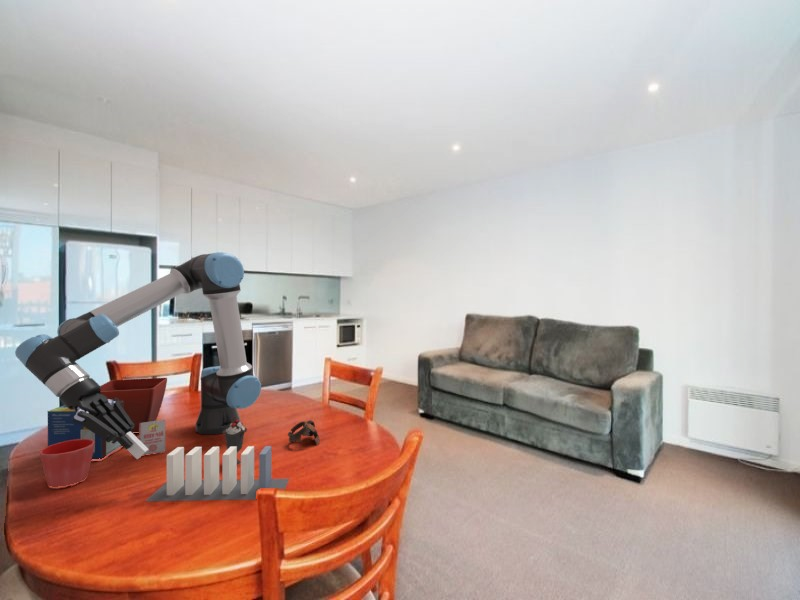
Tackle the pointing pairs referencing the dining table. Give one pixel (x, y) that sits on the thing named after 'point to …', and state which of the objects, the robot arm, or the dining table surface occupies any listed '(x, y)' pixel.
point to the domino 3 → (211, 470)
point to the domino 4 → (229, 470)
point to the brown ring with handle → (304, 431)
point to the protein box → (75, 431)
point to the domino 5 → (247, 469)
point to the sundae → (235, 435)
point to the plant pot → (137, 397)
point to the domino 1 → (175, 470)
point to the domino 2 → (193, 470)
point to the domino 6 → (265, 467)
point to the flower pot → (67, 461)
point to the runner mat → (214, 492)
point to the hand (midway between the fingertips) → (142, 454)
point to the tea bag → (153, 436)
